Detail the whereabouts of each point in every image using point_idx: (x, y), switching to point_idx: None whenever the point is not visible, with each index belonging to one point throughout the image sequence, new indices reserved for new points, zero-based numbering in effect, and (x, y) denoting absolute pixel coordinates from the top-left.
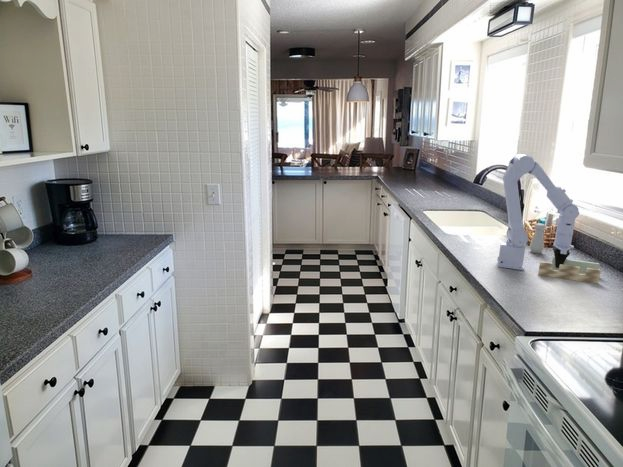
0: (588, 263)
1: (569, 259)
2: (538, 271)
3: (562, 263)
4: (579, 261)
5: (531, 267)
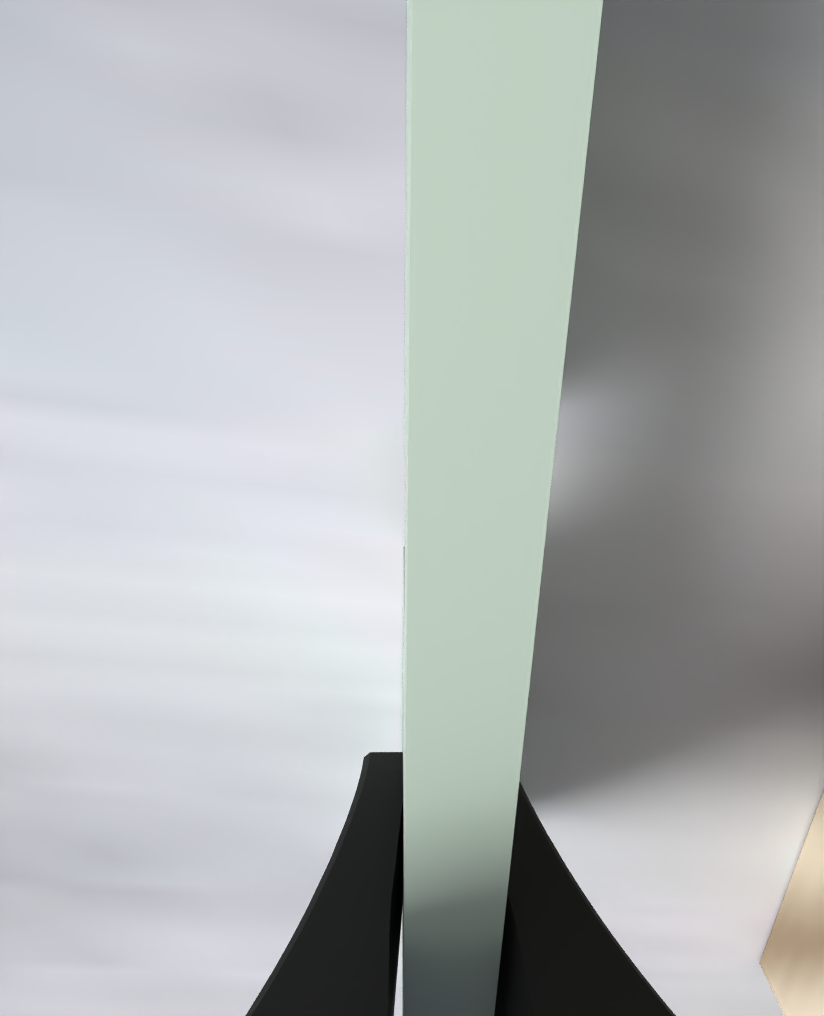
0: (568, 176)
1: (416, 831)
2: (784, 1007)
3: (540, 858)
4: (538, 566)
5: None
